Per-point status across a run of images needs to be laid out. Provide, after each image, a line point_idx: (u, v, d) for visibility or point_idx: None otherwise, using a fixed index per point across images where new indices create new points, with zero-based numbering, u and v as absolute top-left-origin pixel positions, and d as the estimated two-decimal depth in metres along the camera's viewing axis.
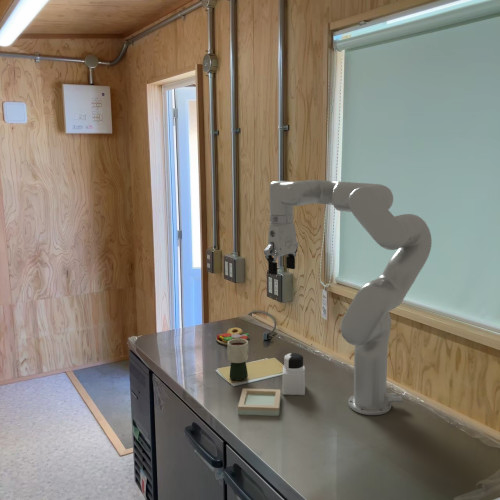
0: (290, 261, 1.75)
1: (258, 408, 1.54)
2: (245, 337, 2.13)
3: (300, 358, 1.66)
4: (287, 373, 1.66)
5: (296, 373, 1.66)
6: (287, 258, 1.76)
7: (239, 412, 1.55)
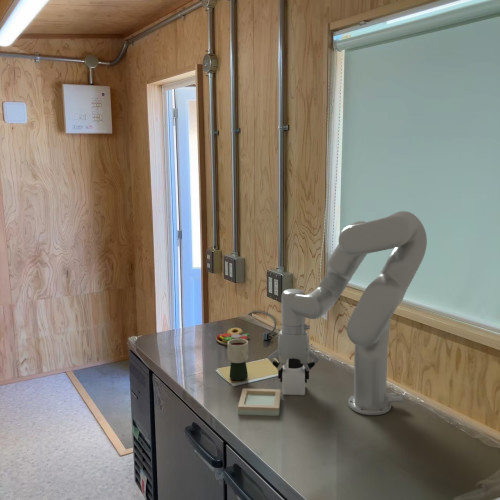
0: None
1: (258, 408, 1.54)
2: (245, 337, 2.13)
3: None
4: (287, 373, 1.66)
5: (296, 373, 1.66)
6: (282, 371, 1.68)
7: (239, 412, 1.55)
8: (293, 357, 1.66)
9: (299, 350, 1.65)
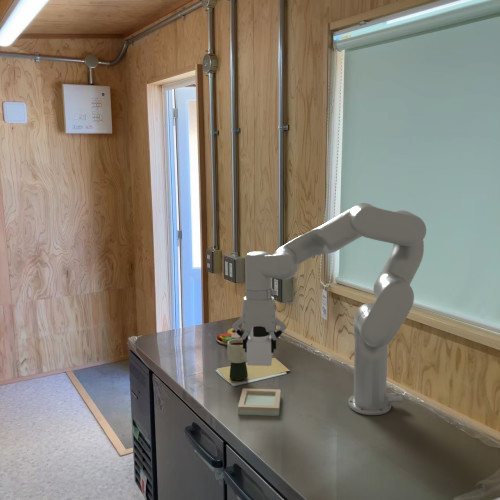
0: None
1: (258, 408, 1.54)
2: None
3: None
4: (252, 342, 1.54)
5: (261, 342, 1.53)
6: None
7: (239, 412, 1.55)
8: (258, 325, 1.53)
9: (264, 317, 1.53)
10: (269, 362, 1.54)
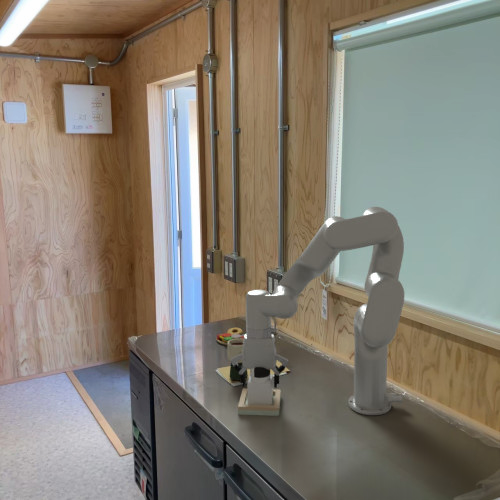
0: (245, 377, 1.59)
1: (258, 408, 1.54)
2: None
3: None
4: (252, 383, 1.56)
5: (262, 383, 1.56)
6: (244, 376, 1.58)
7: (239, 412, 1.55)
8: (258, 362, 1.55)
9: (265, 355, 1.55)
10: (269, 403, 1.56)
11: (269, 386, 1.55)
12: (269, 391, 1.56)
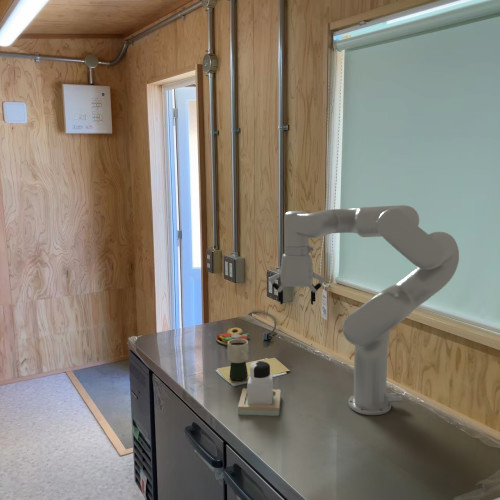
0: None
1: (258, 408, 1.54)
2: (245, 337, 2.13)
3: (266, 367, 1.56)
4: (252, 383, 1.56)
5: (262, 383, 1.56)
6: (282, 293, 1.66)
7: (239, 412, 1.55)
8: (296, 279, 1.64)
9: (302, 272, 1.63)
10: (269, 403, 1.56)
11: (269, 386, 1.55)
12: (269, 391, 1.55)
